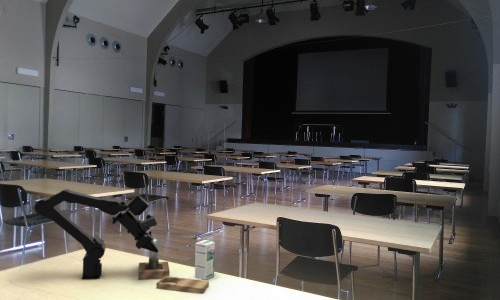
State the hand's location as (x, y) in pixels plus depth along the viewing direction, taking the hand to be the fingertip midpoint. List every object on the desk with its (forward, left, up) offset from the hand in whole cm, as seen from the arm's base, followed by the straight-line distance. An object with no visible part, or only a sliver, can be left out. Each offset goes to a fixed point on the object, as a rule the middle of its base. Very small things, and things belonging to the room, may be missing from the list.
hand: (157, 250), depth 172 cm
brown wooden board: (+9, -16, -10) cm, 21 cm away
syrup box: (+19, -6, -10) cm, 22 cm away
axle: (-1, 0, -7) cm, 7 cm away
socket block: (-1, 0, -10) cm, 10 cm away
